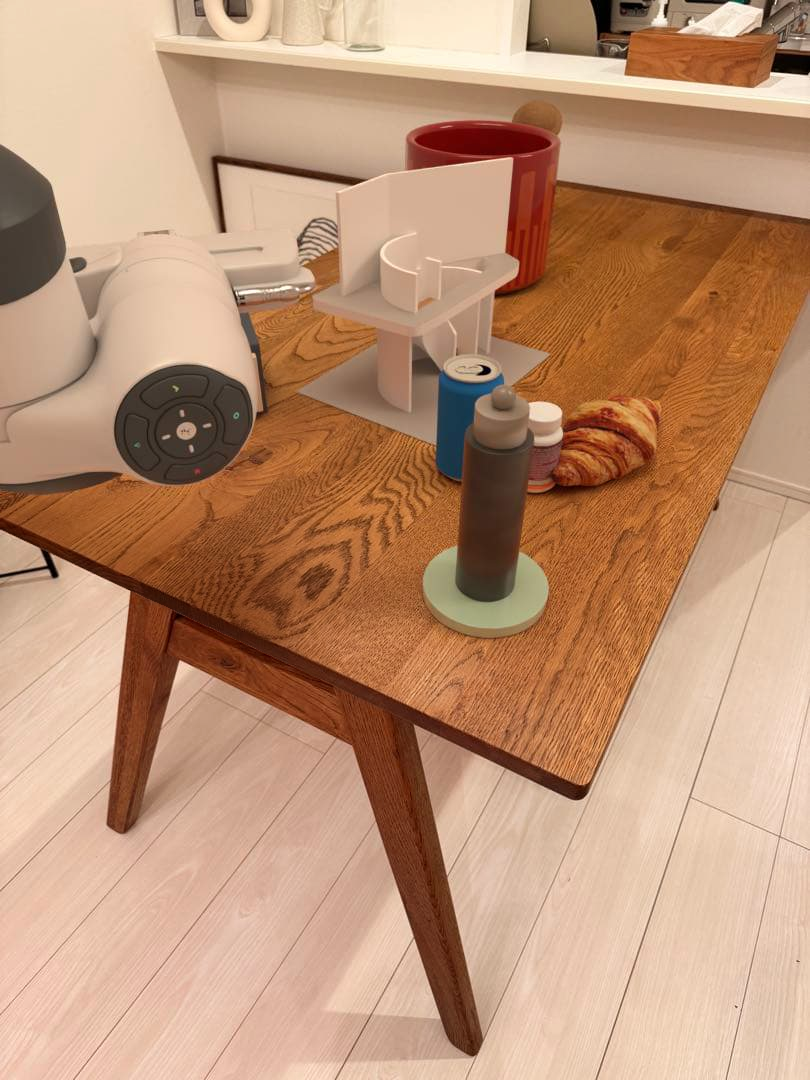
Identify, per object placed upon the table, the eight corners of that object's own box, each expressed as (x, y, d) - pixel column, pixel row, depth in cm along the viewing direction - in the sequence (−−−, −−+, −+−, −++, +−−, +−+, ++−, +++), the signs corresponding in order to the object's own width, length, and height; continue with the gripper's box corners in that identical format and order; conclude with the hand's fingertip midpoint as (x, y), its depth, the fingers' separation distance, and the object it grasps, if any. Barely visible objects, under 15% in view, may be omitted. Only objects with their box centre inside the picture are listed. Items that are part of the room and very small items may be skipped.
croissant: (623, 434, 94) (607, 373, 91) (702, 426, 87) (687, 358, 84) (529, 511, 81) (506, 442, 79) (612, 509, 74) (590, 433, 71)
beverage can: (497, 486, 80) (508, 383, 72) (435, 485, 80) (439, 382, 72) (493, 452, 85) (502, 352, 77) (434, 451, 85) (438, 351, 77)
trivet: (446, 650, 62) (446, 640, 61) (407, 564, 70) (407, 554, 69) (568, 622, 65) (570, 612, 64) (517, 542, 73) (518, 532, 72)
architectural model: (436, 446, 85) (445, 232, 70) (295, 391, 95) (275, 192, 80) (551, 354, 103) (577, 166, 88) (422, 315, 112) (425, 140, 97)
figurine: (551, 213, 150) (565, 97, 137) (549, 224, 144) (564, 105, 132) (505, 210, 151) (515, 95, 138) (502, 221, 146) (512, 103, 133)
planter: (453, 239, 138) (459, 113, 125) (568, 267, 128) (588, 133, 115) (376, 277, 124) (373, 140, 111) (499, 312, 113) (512, 165, 100)
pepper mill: (467, 607, 64) (483, 409, 52) (447, 567, 68) (458, 374, 56) (524, 595, 65) (553, 398, 53) (501, 557, 69) (523, 365, 57)
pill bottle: (564, 479, 80) (575, 409, 75) (539, 499, 78) (550, 429, 72) (526, 462, 83) (534, 394, 77) (501, 482, 80) (508, 412, 75)
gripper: (318, 246, 51) (283, 188, 61) (-12, 278, 46) (9, 210, 57) (324, 335, 55) (290, 267, 65) (21, 372, 50) (35, 293, 61)
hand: (158, 240), depth 61 cm, fingers closed
